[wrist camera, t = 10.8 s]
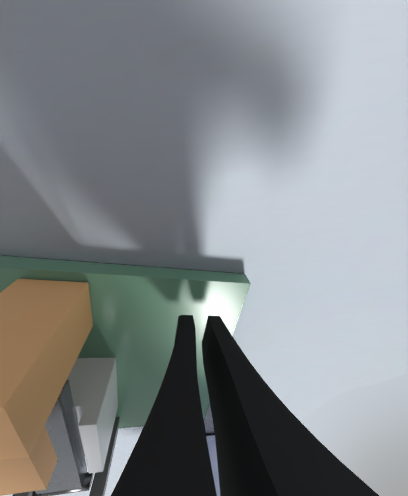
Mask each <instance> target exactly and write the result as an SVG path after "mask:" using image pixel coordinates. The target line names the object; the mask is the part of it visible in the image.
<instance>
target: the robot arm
mask: <svg viewBox="0 0 408 496" xmlns="http://www.w3.org/2000/svg"><path fill="white" fill-rule="evenodd" d="M202 355H203V365H204V371H205V377H206V383H207V389H208V394H209V400H210V406H211V411H212V417H213V424H214V432H215V435H210V436H206V432H205V426H204V420H203V413H202V407H201V400H200V393H199V386H198V377H197V357H196V331H195V323H194V319H193V315H180V316H178V322H177V329H176V335H175V342H174V347H173V351H172V355H171V358H170V361H169V364H168V367H167V370H166V373H165V376H164V379H163V381H162V384H161V387H160V389H159V392H158V394H157V397H156V399H155V402H154V404H153V407H152V409H151V411H150V414H149V416H148V418H147V421H146V423H145V425H144V428H143V430H142V432H141V434H140V436H139V439H138V441H137V443H136V445H135V447H134V449H133V451H132V453H131V456H130V458H129V460H128V462H127V464H126V466H125V468H124V470H123V472H122V474H121V477H120V479H119V481H118V483H117V485H116V487H115V489H114V491H113V493H112V495H111V496H379V495H378V494H377V493H375V492H374V491H373V490H372V489H371V488H370V487H369V486H367V485H366V484H365V483H364V482H363V481H362V480H361V479H359V477H357V476H356V475H355V474H354V473H353V472H352V471H351V470H349V469H348V468H347V467H346V466H345V465H344V464H342V462H340V461H339V460H338V459H337V458H336V457H335V456H334V455H333V454H332V453H331V452H330V451H329V450H328V449H327V448H326V447H325V446H324V445H322V443H320V442H319V441H318V440H317V439H316V438H315V436H314V435H313V434H312V433H310V431H308V429H307V428H306V427H305V426H304V425H303V424H302V423H301V422H300V421H299V420H298V419H297V418H296V417H295V416H294V415H293V414H292V413H291V412H290V411H289V409H288V408H287V407H286V406H285V405H284V404H283V403H282V402H281V400H280V399H279V398H278V397H277V396H276V395H275V394H274V392H273V391H272V390H271V389H270V388H269V386H268V385H267V384H266V383H265V381H264V380H263V379H262V378H261V376H260V375H259V374H258V372H257V371H256V370H255V368H254V367H253V366H252V364H251V363H250V362H249V360H248V359H247V358H246V356H245V355H244V353H243V352H242V350H241V349H240V347H239V346H238V344H237V343H236V341H235V340H234V338H233V337H232V335H231V333H230V332H229V330H228V329H227V327H226V325H225V324H224V322H223V320H222V319H221V317H220V316H208V319H207V323H206V327H205V331H204V335H203V339H202Z"/></svg>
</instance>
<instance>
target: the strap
mask: <svg viewBox="0 0 408 496" xmlns="http://www.w3.org/2000/svg"><path fill="white" fill-rule="evenodd" d="M45 427H46V430H47V432H48V435H49V437H50V440H51V443H52V445H53V448H54V451H55V453H56V456H57V459H58V460H57V463H56V466H55V468H54V471H53V473H52V476H51V479H50V481H49V484H48V486H47V489H45V490H38V491H33V492H32V496H52V495H59V494H66V493H73V492H80V491H87V490H89V489H90V486H91V483H92V479H93V473H89V472H87V466H86V461H85V456H84V451H83V447H82V442H81V437H80V432H79V427H78V423H77V418H76V413H75V408H74V403H73V398H72V394H71V389H70V384H69V379H67V380H66V382H65V384H64V386H63V388H62V391H61V393H60V395H59V397H58V399H57V401H56V403H55V405H54V407H53V409H52V411H51V413H50V415H49V417H48V419H47V421H46V424H45Z"/></svg>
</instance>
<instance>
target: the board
mask: <svg viewBox="0 0 408 496" xmlns="http://www.w3.org/2000/svg"><path fill="white" fill-rule="evenodd" d="M17 279H34V280H52V281H69V282H87V283H88V284H89V293H90V303H91V312H92V321H93V327H92V329H91V331H90V333H89V335H88V337H87V339H86V341H85V343H84V345H83V347H82V349H81V351H80V353H79V355H78V357H77V360H76V362H75V364H74V366H73V368H72V370H71V372H70V374H69V376H68V378H67V379H69V384H70V389H71V394H72V398H73V403H74V408H75V413H76V418H77V423H78V427H79V432H80V437H81V442H82V447H83V451H84V456H85V458H86V463H87V467H88V472H89V473H95V476H94V479H93V483H92V487H91V491H90V495H89V496H104V494H105V490H106V485H107V480H108V475H109V471H110V466H111V461H112V456H113V452H114V447H115V442H116V437H117V433H118V428H128V427H140V426H144V425H145V423H146V421H147V418H148V416H149V414H150V411H151V409H152V407H153V404H154V402H155V399H156V397H157V394H158V392H159V389H160V387H161V384H162V381H163V379H164V376H165V373H166V370H167V367H168V364H169V361H170V358H171V355H172V351H173V347H174V342H175V335H176V329H177V322H178V316H180V315H193V319H194V323H195V331H196V357H197V377H198V386H199V393H200V400H201V407H202V413H203V420H204V418H205V415H206V412H207V409H208V406H209V403H210V400H209V394H208V389H207V383H206V377H205V371H204V365H203V355H202V339H203V335H204V331H205V327H206V323H207V319H208V316H220V317H221V319H222V320H223V322H224V324H225V325H226V327H227V329H228V330H229V332H230V333H231V335H232V336H233V333H234V330H235V328H236V325H237V322H238V319H239V316H240V313H241V310H242V307H243V304H244V301H245V298H246V295H247V292H248V290H249V287H250V282H249V280H248V278H247V277H246V275H245V274H239V273H226V272H213V271H200V270H186V269H173V268H160V267H147V266H134V265H120V264H107V263H94V262H81V261H67V260H54V259H41V258H28V257H14V256H1V255H0V293H1V292H2V291H3V290H4V289H6V288H7V287H8V286H9V285H11V284H12V283H13V282H15V281H16V280H17ZM32 492H33V491H30V492H23V493H16V494H13V496H32Z"/></svg>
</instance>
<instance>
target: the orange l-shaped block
mask: <svg viewBox="0 0 408 496" xmlns="http://www.w3.org/2000/svg"><path fill="white" fill-rule="evenodd" d="M92 327H93V321H92V312H91V303H90V293H89V284H88V283H87V282H69V281H52V280H34V279H17V280H16V281H15V282H13V283H12V284H11V285H9V286H8V287H7V288H6V289H4V290H3V291H2V292H1V293H0V496H1V495H8V494H16V493H23V492H30V491H38V490H45V489H47V486H48V484H49V481H50V479H51V476H52V473H53V471H54V468H55V466H56V463H57V460H58V459H57V456H56V453H55V451H54V448H53V445H52V443H51V440H50V437H49V435H48V432H47V430H46V427H45V424H46V421H47V419H48V417H49V415H50V413H51V411H52V409H53V407H54V405H55V403H56V401H57V399H58V397H59V395H60V393H61V391H62V388H63V386H64V384H65V382H66V380H67V378H68V376H69V374H70V372H71V370H72V368H73V366H74V364H75V362H76V360H77V357H78V355H79V353H80V351H81V349H82V347H83V345H84V343H85V341H86V339H87V337H88V335H89V333H90V331H91V329H92Z"/></svg>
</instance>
